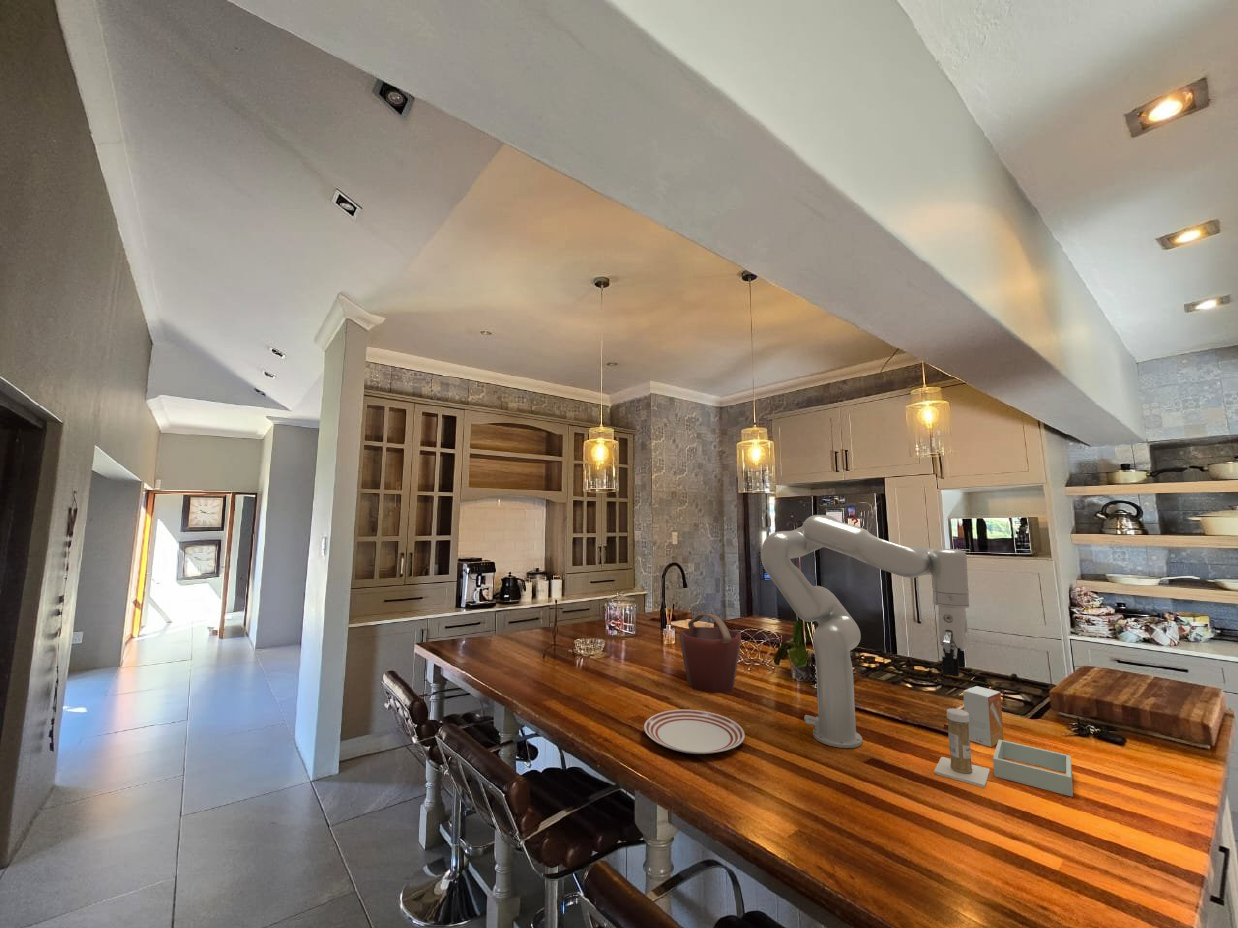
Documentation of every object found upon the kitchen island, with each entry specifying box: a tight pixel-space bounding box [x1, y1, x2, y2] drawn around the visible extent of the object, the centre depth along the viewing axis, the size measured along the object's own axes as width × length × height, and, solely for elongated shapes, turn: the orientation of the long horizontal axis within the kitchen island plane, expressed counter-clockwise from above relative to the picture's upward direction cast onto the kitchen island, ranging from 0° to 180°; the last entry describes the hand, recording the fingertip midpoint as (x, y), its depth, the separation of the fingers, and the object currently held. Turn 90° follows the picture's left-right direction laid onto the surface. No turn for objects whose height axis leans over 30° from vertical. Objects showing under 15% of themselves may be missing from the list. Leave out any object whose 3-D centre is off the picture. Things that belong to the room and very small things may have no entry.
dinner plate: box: [643, 709, 746, 755], centre depth 143 cm, size 27×27×3 cm
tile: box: [933, 756, 991, 789], centre depth 124 cm, size 10×10×1 cm
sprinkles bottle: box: [946, 708, 973, 773], centre depth 125 cm, size 5×5×13 cm
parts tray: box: [992, 740, 1074, 798], centre depth 123 cm, size 14×14×4 cm
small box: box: [962, 685, 1005, 748], centre depth 143 cm, size 8×6×13 cm
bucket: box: [678, 613, 742, 694], centre depth 190 cm, size 24×22×25 cm
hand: (954, 670), depth 126 cm, fingers open, 9 cm apart
